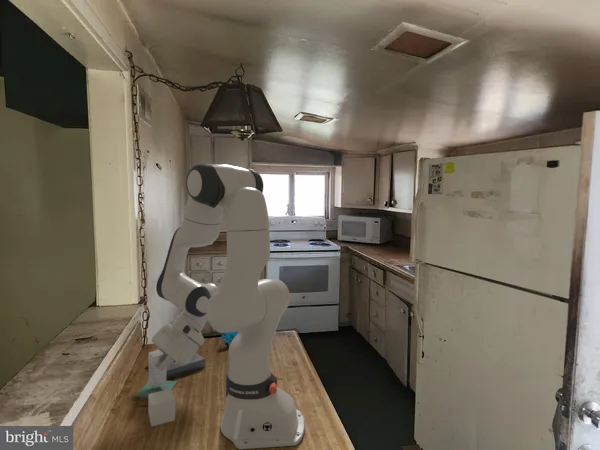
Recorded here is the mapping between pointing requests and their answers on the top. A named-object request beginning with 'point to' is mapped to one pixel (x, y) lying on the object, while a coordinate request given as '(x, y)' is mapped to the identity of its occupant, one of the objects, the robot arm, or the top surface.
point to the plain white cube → (161, 407)
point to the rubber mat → (155, 389)
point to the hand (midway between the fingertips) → (155, 366)
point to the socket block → (185, 366)
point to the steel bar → (156, 369)
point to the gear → (229, 337)
